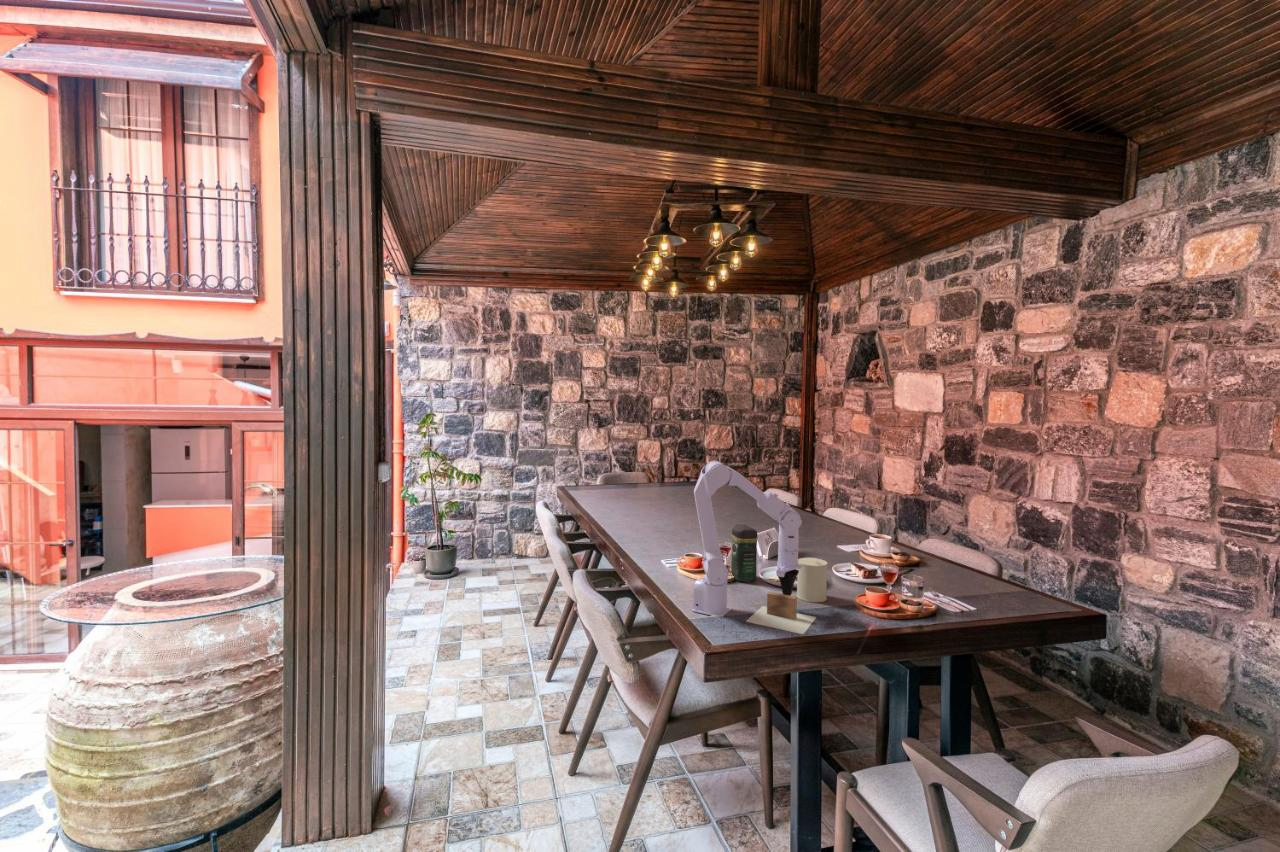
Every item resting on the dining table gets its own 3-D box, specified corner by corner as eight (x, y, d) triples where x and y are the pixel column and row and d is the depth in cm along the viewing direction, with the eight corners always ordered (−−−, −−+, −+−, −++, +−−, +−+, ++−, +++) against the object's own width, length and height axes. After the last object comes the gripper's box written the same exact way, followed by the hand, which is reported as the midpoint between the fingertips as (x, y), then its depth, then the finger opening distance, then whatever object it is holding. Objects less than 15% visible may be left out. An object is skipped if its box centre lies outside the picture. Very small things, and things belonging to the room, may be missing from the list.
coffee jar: (759, 582, 195) (761, 528, 194) (737, 583, 194) (738, 529, 193) (749, 573, 204) (750, 522, 204) (728, 574, 203) (729, 523, 202)
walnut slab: (766, 614, 165) (767, 593, 164) (769, 611, 167) (769, 591, 166) (794, 619, 161) (795, 599, 160) (796, 617, 162) (797, 596, 162)
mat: (745, 623, 159) (745, 621, 159) (762, 607, 171) (762, 605, 171) (803, 636, 151) (803, 634, 151) (816, 619, 163) (816, 617, 163)
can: (812, 604, 175) (813, 565, 174) (790, 595, 183) (791, 558, 182) (833, 599, 179) (834, 561, 179) (810, 590, 187) (811, 554, 187)
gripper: (794, 556, 159) (793, 604, 160) (808, 545, 172) (807, 590, 172) (770, 553, 163) (769, 599, 164) (785, 542, 175) (784, 585, 176)
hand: (787, 594), depth 168 cm, fingers closed
